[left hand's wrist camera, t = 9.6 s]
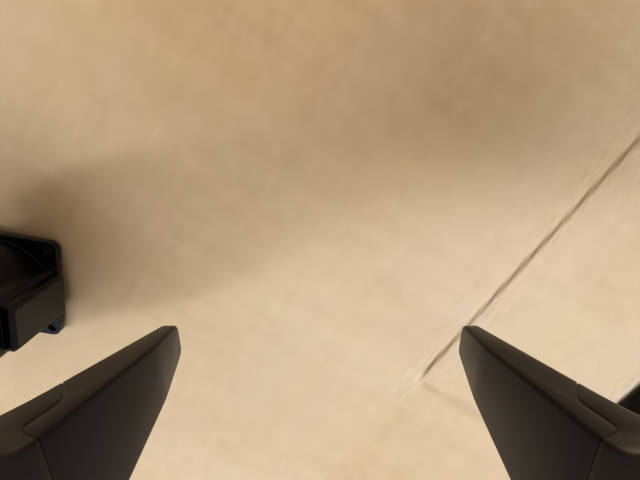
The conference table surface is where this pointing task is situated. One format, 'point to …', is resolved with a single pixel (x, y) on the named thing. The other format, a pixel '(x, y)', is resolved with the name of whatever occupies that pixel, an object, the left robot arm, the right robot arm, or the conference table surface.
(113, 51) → the conference table surface
